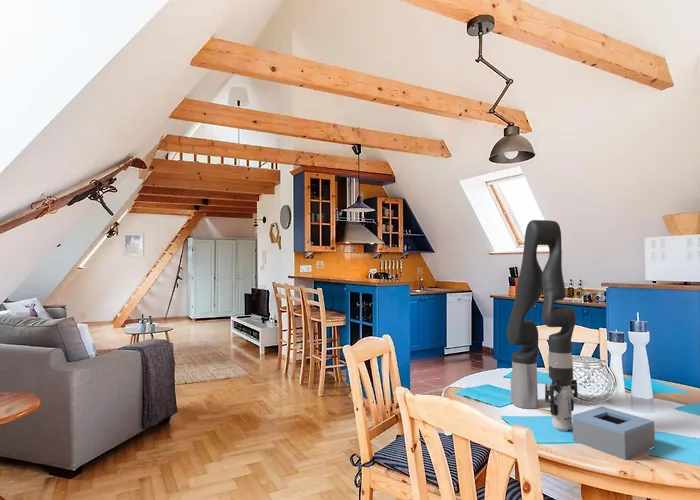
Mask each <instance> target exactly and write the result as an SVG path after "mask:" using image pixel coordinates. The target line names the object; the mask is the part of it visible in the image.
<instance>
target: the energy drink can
mask: <svg viewBox="0 0 700 500" xmlns="http://www.w3.org/2000/svg"><path fill="white" fill-rule="evenodd" d="M568 386H569V385H568ZM568 386H567V385H565V386H564V387H565V388H564V390H563V391H562V397H561V399H559V400H558V403H557V405H558V415H557V416H555V415H552V414H551V416H552V417H551V418H552V419H551V421H552V426H553V428H554V427H555V428H556V429H558V430H557V431H559V430H563V431H562V432H569V431H568V430H570V431H571V429H573V419H572V415H573V414H572V413H573V411H571V390H570V388H569V387H568ZM561 387H563V386H560V389H561ZM554 394H555V395H558V394H559V392H557V391H556V390H555V391H554ZM554 401H555V398H554ZM555 428H554V429H555ZM556 429H555V430H556Z"/></svg>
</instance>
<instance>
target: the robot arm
mask: <svg viewBox="0 0 700 500" xmlns="http://www.w3.org/2000/svg"><path fill="white" fill-rule="evenodd" d="M523 241H524V243H523V250H522V251H523V253H522V260H521V267H520V271H519V274H518V275H519V276H518V280H517V285H516V292H515V297H514V303H513V306H512V310H511V314H510V316H509V319H508V323H507V327H506V328H507V329H506V338H507V341H508V343H509V344H511V345H514V346H521V348H520V349H518V350H517V351H515V352H513V353H512V355H511V370H512V377H511V379H510V403H511V404H513V405H514V406H515V407H518V408H521V409H536V408H538V407H539V397H538V396H539V392H538V366H537V364H538V362H537V361H538V355H539V331H538V327H537V324H536V323H535V322H534V321H531V320H525V319H526V316H527V314H528V313H529V312H530V311H531V310H532V308H533V307H534V306H535V305H536V304H537V303H538V301H539V300H540V298H541V297H542V295H543V306H542V311H541V312H542V313H541V320H542V323H543V324H544V325H545V326H546V327H548V328H561V329H560V331H558V332H556V333H552V334H550V335H549V336H548V355H547V356H548V357H547V358H548V378H550V380H551V384H548V383H545V385H544V386H545V387H544V393H545V394H544V401H545V402H546V403H548V404H549V407H550V409H549V410H550V414H551V416H552V415H555V416H557V415H558V405H557V403H558V400H559V399H561V397H562V391H563V390H564V388H565V387H564V386H565V385H567V386H568V385H569V386H568V387H569V388H570V390H571V412H573V411H574V409H575V407H574V400H575V399H576V398H578V397H579V393H578V392H579V391H578V381H577V380H576V379H574V363H573V362H574V361H573V355H572V338H573V333H574V330H575V326H576V321H577V315H576V312H575V310H574V309H573V308H572V307H571V306H554V305H555V302H558V301H562V300H564V299H566V296H567V292H566V287H565V282H564V276H563V275H564V274H563V268H562V267H563V263H562V259H563V258H562V257H563V256H562V253H563V252H562V250H563V249H562V231H561V227H560V224H559V223H558V222H557V221H555V220H551V219H550V220H548V219H547V220H545V219H543V220H542V219H531V220H530V221H529V222H528V223H527V225H526V229H525V234H524V240H523ZM538 246H547V247H548V250H549V253H548V254H549V255H548V259H547V261H546V264H545V265H544V268H543V269H542V268H541V266H540V264H539V261H538V258H537V256H538V255H537V252H538ZM560 386H563V387H561V389H560ZM555 390H556V391H557V392H559V394H558V395H555V394H554V391H555ZM554 398H555V401H554Z"/></svg>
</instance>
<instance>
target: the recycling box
mask: <svg viewBox="0 0 700 500" xmlns="http://www.w3.org/2000/svg"><path fill="white" fill-rule="evenodd" d="M655 436H656V435H655V421H654V420H651V419H648V418H644V417H641V416H637V415H633V414H630V413H627V412H623V411H619V410H616V409H613V408H609V407H606V406H599V407H595V408H592V409H588V410H585V411H582V412H579V413H575V414H572V441H573V442H577V443H579V444H582V445H585V446H586V447H589V448H593V449H596V450H598V451H601V452H604V453H606V454H609V455H611V456H614V457H616V458H619V459H622V460H624V461H625V460H628V459H631V458H634V457H636V456H638V455H640V454H643V453H645V452H648V451H650V450H651V449H650V448H652V447H654V446H655V447H656V439H655ZM649 449H650V450H649Z"/></svg>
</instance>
